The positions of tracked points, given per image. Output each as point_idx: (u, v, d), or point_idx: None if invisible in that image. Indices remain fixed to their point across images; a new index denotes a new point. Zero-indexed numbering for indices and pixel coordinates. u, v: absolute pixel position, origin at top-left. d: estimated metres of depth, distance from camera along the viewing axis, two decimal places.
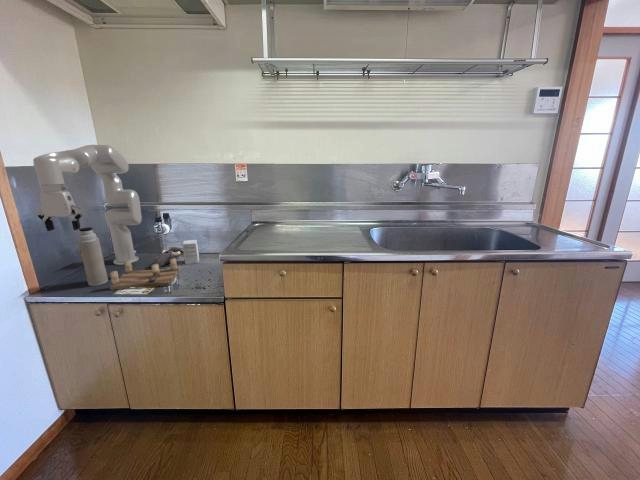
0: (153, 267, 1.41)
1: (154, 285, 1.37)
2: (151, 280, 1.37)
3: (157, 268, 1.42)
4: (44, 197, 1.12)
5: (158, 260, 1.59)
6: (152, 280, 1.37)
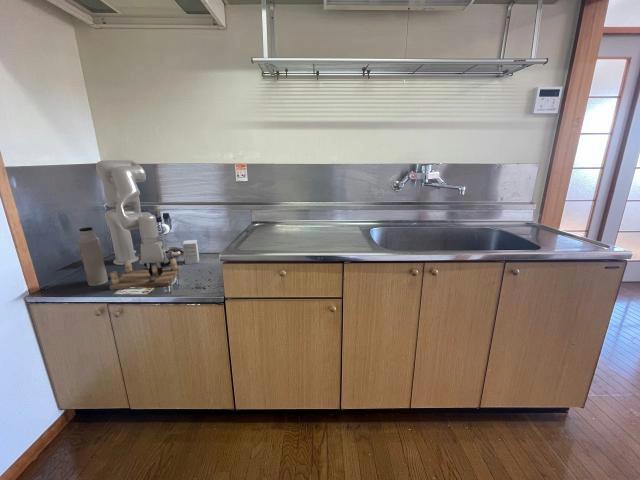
0: (153, 267, 1.41)
1: (154, 285, 1.37)
2: (151, 280, 1.37)
3: (157, 268, 1.42)
4: (144, 247, 1.37)
5: None
6: (152, 280, 1.37)
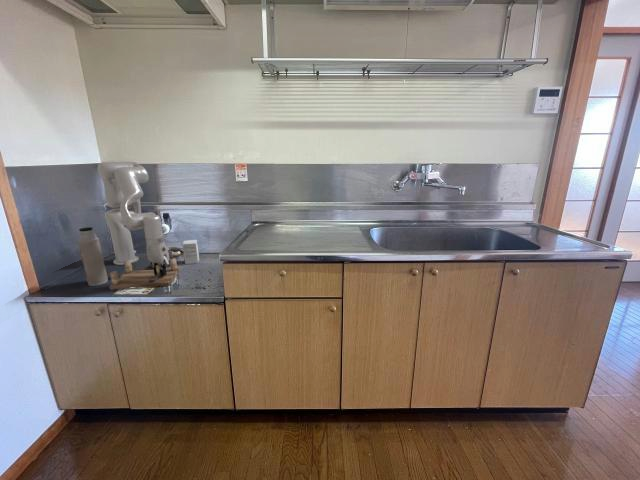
0: (156, 267, 1.41)
1: (154, 285, 1.37)
2: (150, 280, 1.37)
3: None
4: (148, 247, 1.38)
5: None
6: (151, 280, 1.37)
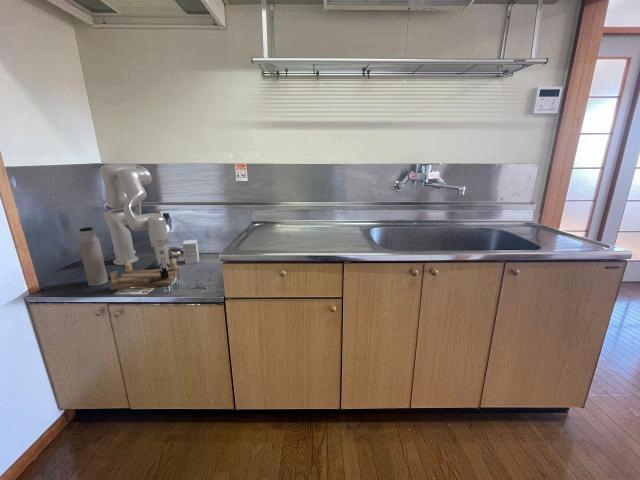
0: (160, 268, 1.40)
1: (154, 285, 1.37)
2: (149, 280, 1.37)
3: None
4: None
5: None
6: (150, 280, 1.37)
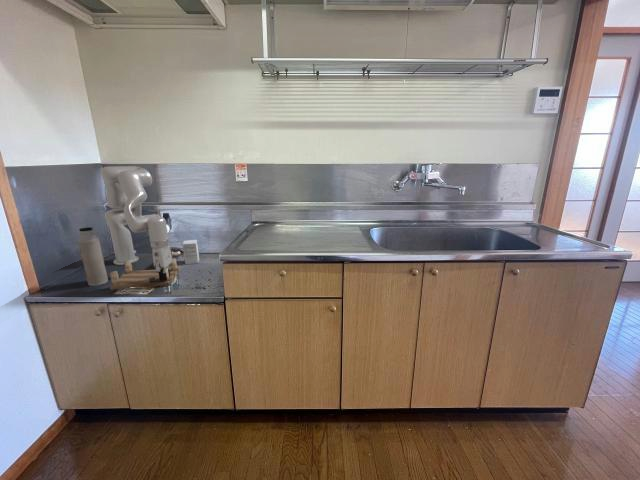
0: None
1: (154, 285, 1.37)
2: (149, 279, 1.38)
3: None
4: None
5: None
6: (149, 280, 1.37)
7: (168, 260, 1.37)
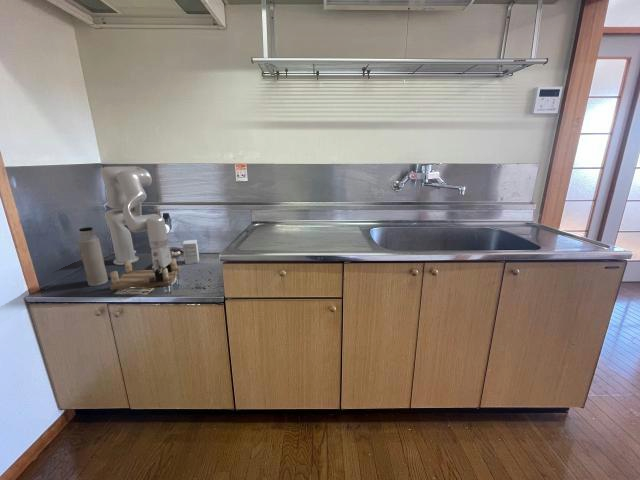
0: None
1: (154, 285, 1.37)
2: None
3: None
4: None
5: None
6: (149, 280, 1.37)
7: (167, 260, 1.36)
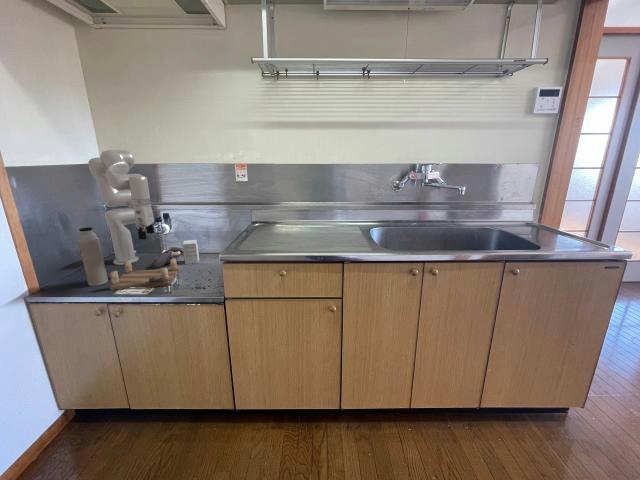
0: None
1: (154, 285, 1.37)
2: None
3: (161, 273, 1.37)
4: None
5: (158, 260, 1.59)
6: (149, 280, 1.37)
7: (150, 219, 1.39)
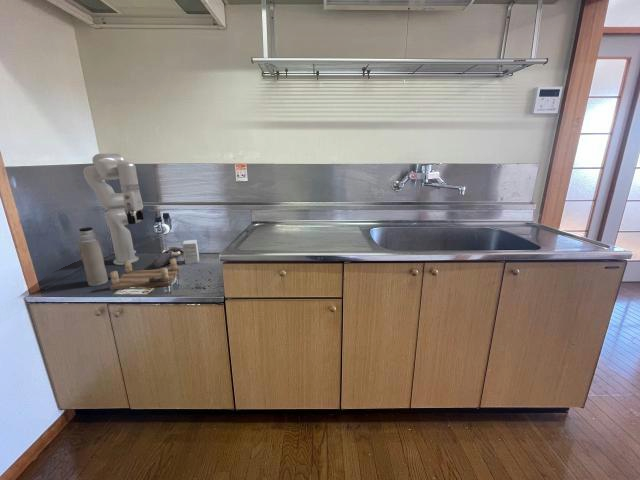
0: None
1: (154, 285, 1.37)
2: None
3: (161, 273, 1.37)
4: None
5: (158, 260, 1.59)
6: (149, 280, 1.37)
7: (139, 205, 1.44)
